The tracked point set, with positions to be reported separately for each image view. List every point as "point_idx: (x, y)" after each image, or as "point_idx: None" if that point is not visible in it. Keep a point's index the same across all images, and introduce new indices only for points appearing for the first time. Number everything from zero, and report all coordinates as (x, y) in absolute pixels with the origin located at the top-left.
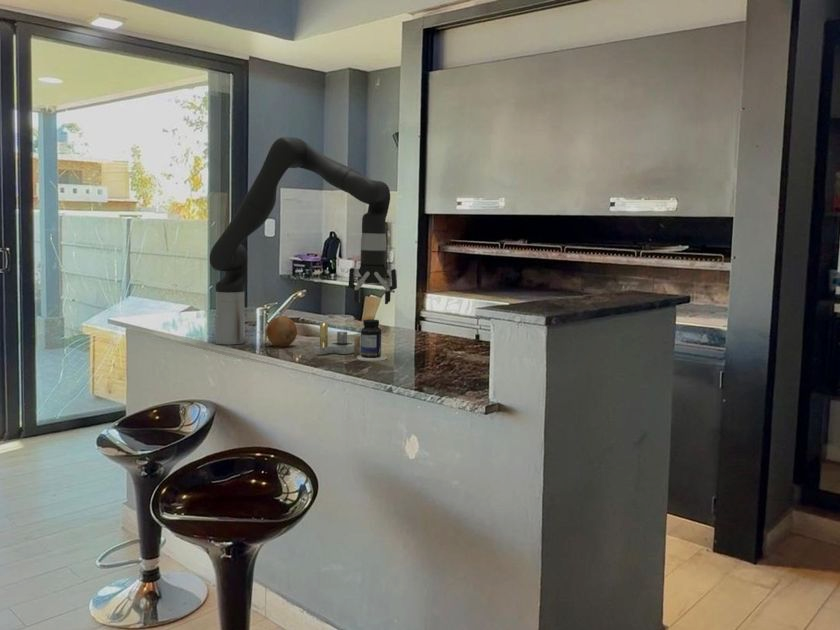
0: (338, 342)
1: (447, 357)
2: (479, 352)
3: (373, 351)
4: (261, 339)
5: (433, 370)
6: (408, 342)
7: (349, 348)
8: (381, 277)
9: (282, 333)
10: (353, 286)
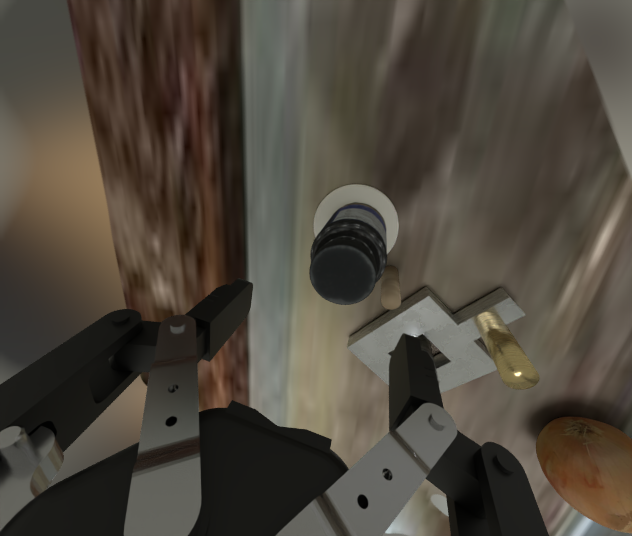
0: (431, 355)
1: (176, 232)
2: (127, 283)
3: (350, 206)
4: None
5: (188, 10)
6: (261, 401)
7: (407, 306)
8: (141, 431)
9: (613, 441)
10: (464, 456)
